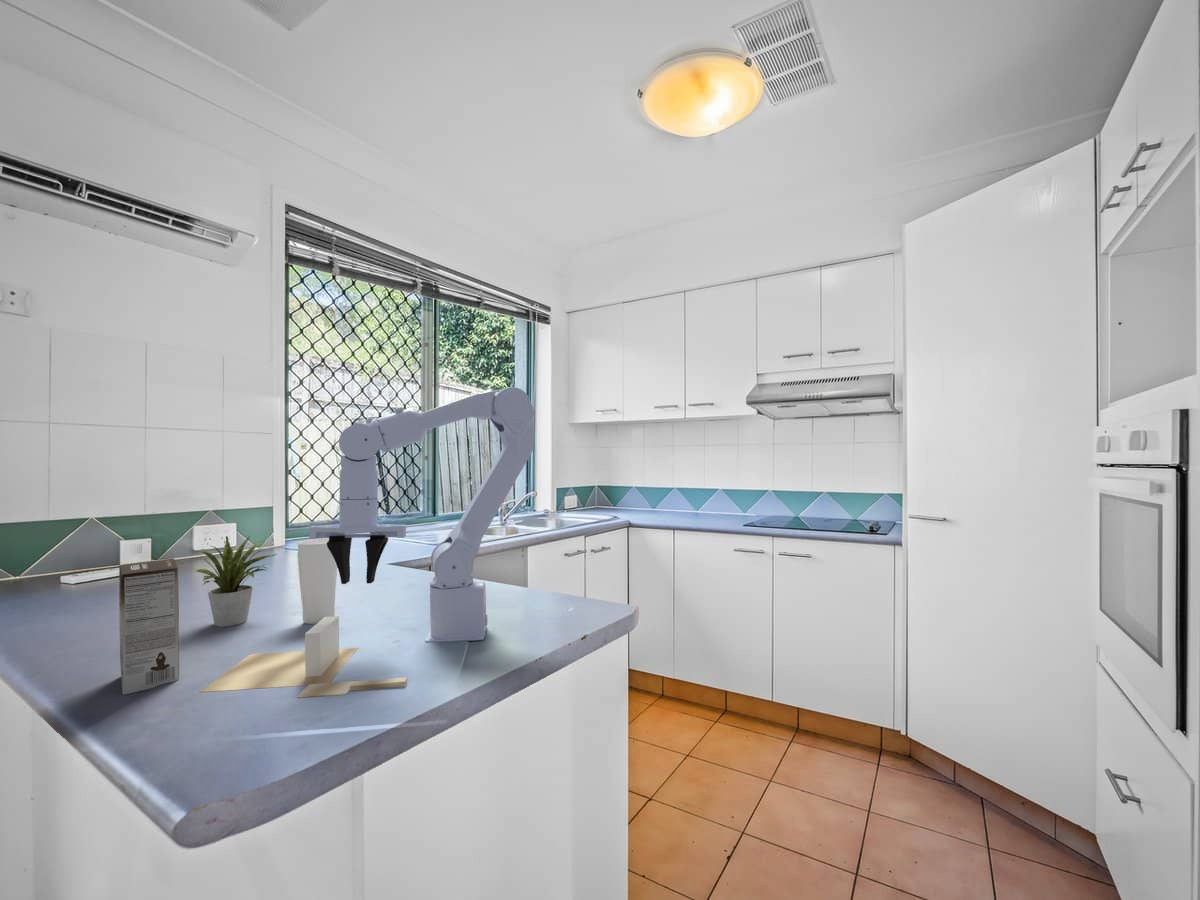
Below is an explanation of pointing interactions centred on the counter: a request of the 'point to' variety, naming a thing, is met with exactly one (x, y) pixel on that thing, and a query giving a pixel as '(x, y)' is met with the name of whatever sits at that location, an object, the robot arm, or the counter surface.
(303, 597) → the drinking glass
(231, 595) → the house plant
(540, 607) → the counter surface
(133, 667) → the coffee box
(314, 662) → the white block
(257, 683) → the bamboo mat
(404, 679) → the beech spatula
